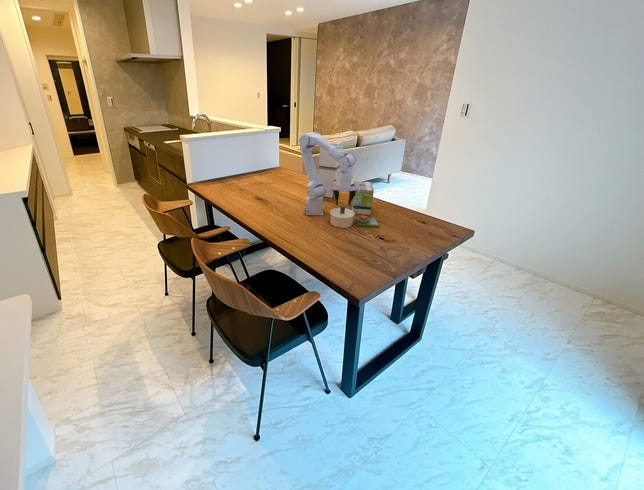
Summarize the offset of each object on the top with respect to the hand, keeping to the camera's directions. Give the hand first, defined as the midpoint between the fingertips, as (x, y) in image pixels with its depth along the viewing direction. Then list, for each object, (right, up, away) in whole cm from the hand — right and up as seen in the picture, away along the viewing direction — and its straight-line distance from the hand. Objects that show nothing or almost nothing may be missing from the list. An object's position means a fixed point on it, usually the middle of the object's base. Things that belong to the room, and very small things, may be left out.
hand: (343, 204), depth 151 cm
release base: (+13, -10, +3) cm, 17 cm away
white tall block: (-1, +6, +38) cm, 39 cm away
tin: (0, -9, +4) cm, 10 cm away
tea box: (+15, -2, +20) cm, 25 cm away
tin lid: (0, -5, +2) cm, 5 cm away
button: (+11, -7, +2) cm, 13 cm away
